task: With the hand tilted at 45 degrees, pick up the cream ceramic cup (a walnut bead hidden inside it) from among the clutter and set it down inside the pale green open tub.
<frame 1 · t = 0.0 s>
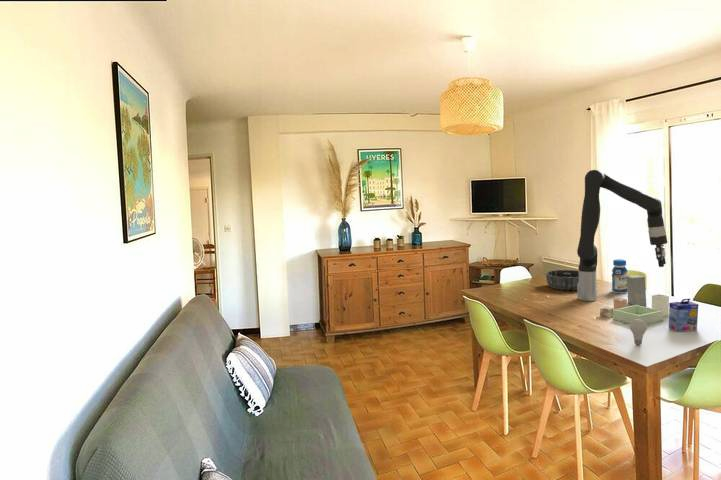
hand: (662, 265, 227), 22 cm above the table, tool pointing down, fingers open, 8 cm apart
tub: (637, 320, 209), on the table
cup: (660, 315, 214), on the table, touching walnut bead
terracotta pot: (620, 312, 223), on the table
bundt pan: (567, 288, 284), on the table
lightbulb: (638, 345, 177), on the table
beech block: (606, 316, 218), on the table
beverage bottle: (619, 292, 265), on the table
skincare box: (636, 304, 237), on the table
ink cartridge box: (682, 330, 192), on the table
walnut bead: (660, 311, 214), point 2 cm above the table, touching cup
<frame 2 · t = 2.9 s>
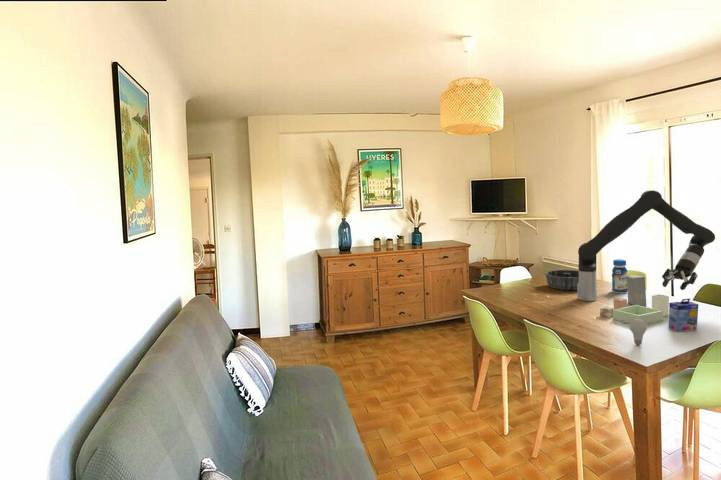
hand: (672, 287, 216), 13 cm above the table, tool tilted 45°, fingers open, 8 cm apart
nothing on the table moved.
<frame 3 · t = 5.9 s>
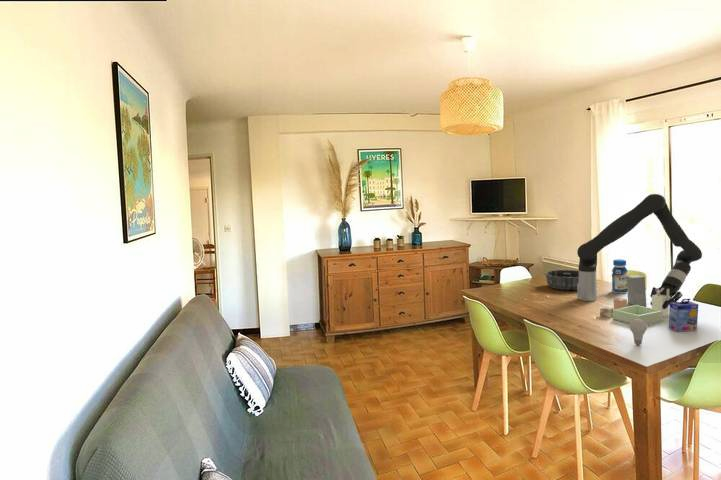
hand: (657, 306, 213), 5 cm above the table, tool tilted 45°, fingers closed on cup, 5 cm apart
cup: (660, 315, 214), on the table, touching gripper, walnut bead
everything else where it was.
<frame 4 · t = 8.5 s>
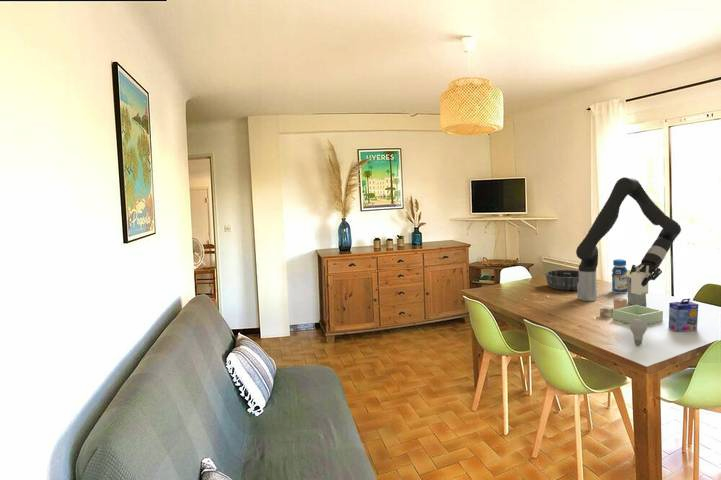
hand: (637, 284, 207), 18 cm above the table, tool tilted 45°, fingers closed on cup, 5 cm apart
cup: (639, 293, 208), point 13 cm above the table, touching gripper, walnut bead
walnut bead: (641, 288, 207), point 15 cm above the table, tilted 26°, touching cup
everything else where it was.
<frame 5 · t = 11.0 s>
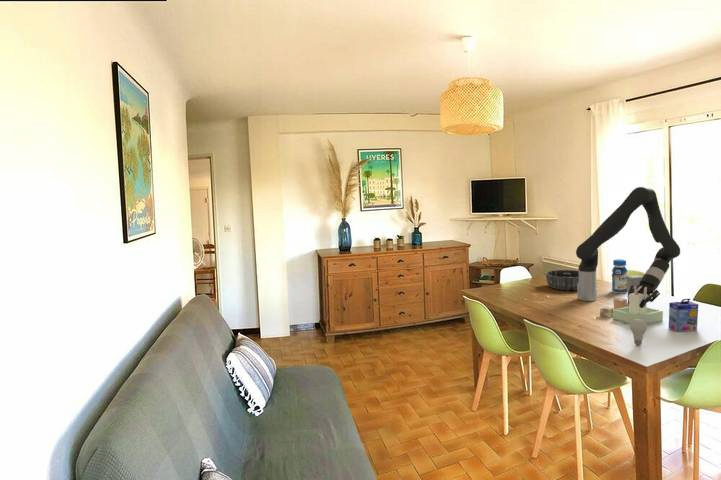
hand: (635, 305, 207), 8 cm above the table, tool tilted 45°, fingers closed on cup, 5 cm apart
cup: (637, 314, 209), point 3 cm above the table, touching gripper, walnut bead
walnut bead: (636, 310, 208), point 5 cm above the table, tilted 27°, touching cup
everything else where it was.
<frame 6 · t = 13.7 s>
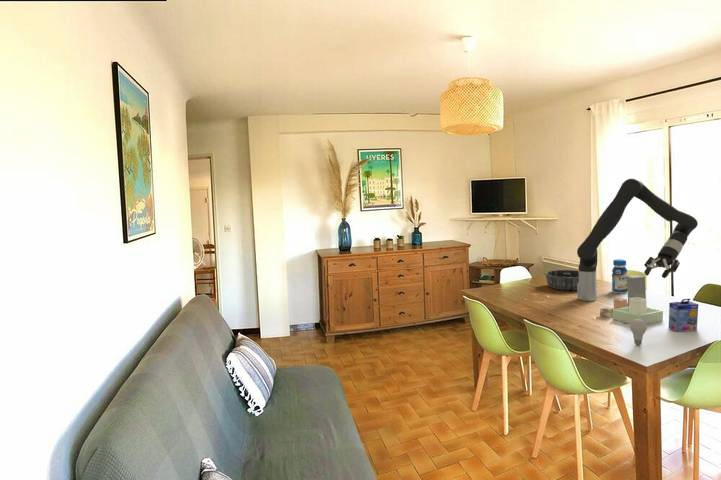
hand: (654, 275, 211), 21 cm above the table, tool tilted 45°, fingers open, 8 cm apart
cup: (637, 318, 209), point 1 cm above the table, touching tub, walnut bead
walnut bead: (636, 314, 209), point 3 cm above the table, tilted 11°, touching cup
everything else where it was.
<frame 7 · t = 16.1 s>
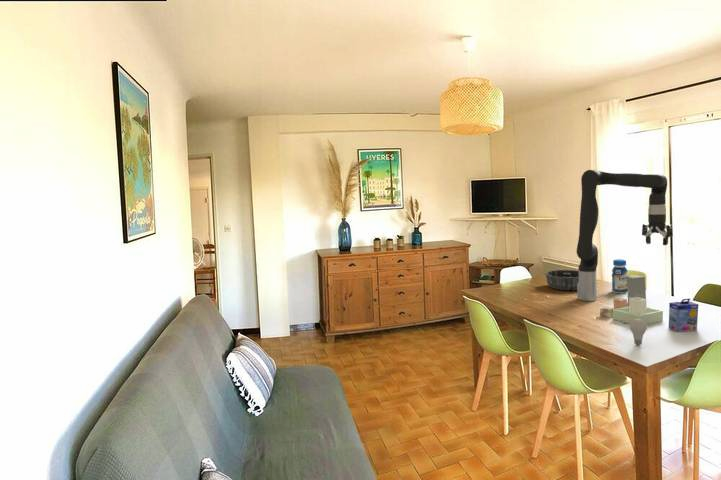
hand: (656, 244, 223), 34 cm above the table, tool pointing down, fingers open, 8 cm apart
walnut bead: (637, 314, 209), point 3 cm above the table, touching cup
everything else where it was.
at the end: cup inside the target area on the tub (0.1 cm from its centre), point 0.6 cm above the tub's base; the gripper is holding nothing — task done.
